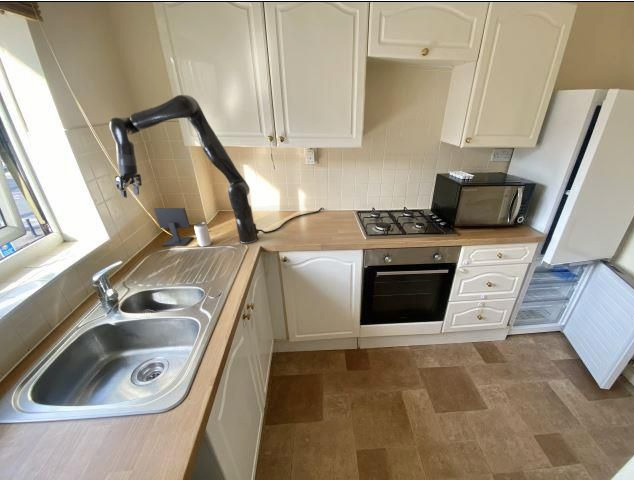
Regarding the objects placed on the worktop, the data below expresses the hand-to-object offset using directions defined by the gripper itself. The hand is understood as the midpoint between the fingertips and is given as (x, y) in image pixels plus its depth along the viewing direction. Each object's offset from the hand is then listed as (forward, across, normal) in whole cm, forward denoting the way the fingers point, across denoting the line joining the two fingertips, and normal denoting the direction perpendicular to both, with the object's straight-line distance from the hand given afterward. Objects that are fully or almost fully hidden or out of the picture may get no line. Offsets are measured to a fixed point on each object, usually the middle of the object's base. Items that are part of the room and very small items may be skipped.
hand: (130, 195), depth 143 cm
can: (+21, +4, -36) cm, 42 cm away
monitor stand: (+24, +7, -20) cm, 32 cm away
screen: (+15, +7, -18) cm, 25 cm away
